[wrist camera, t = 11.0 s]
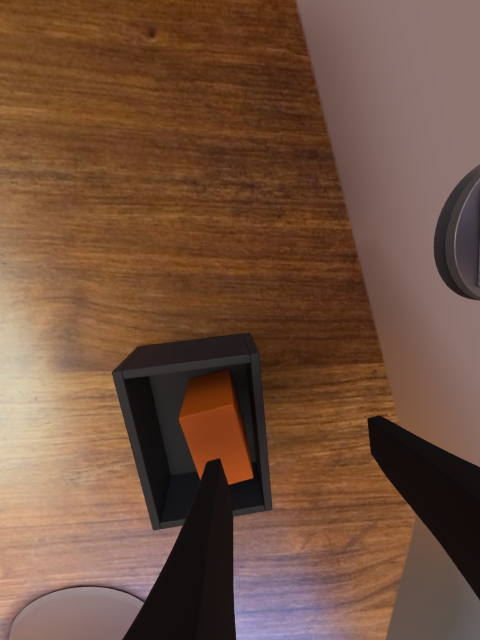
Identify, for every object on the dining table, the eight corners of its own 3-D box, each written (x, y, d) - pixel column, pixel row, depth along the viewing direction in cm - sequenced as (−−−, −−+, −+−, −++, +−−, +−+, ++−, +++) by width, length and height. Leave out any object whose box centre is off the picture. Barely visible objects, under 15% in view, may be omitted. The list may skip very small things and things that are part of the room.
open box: (250, 332, 19) (259, 353, 14) (261, 461, 22) (272, 510, 17) (137, 346, 18) (111, 372, 14) (166, 476, 21) (152, 531, 17)
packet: (229, 368, 19) (233, 404, 14) (245, 427, 20) (254, 478, 15) (188, 378, 19) (178, 418, 14) (207, 437, 20) (204, 492, 15)
